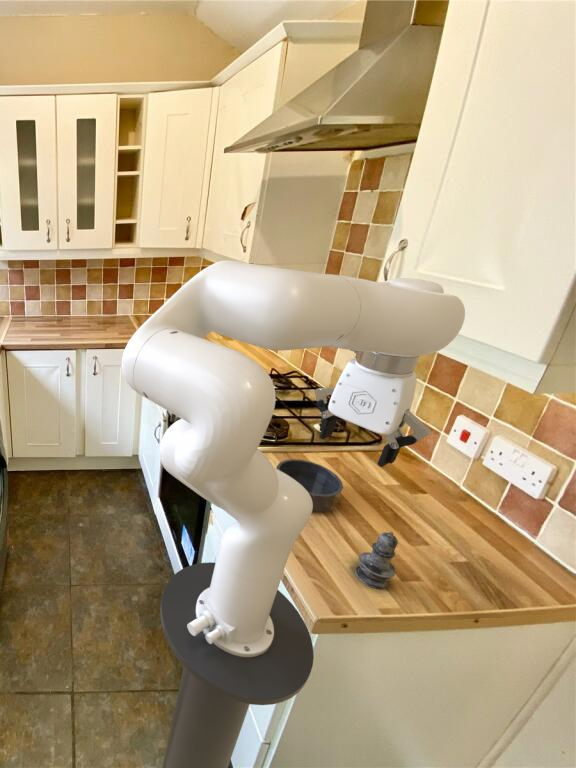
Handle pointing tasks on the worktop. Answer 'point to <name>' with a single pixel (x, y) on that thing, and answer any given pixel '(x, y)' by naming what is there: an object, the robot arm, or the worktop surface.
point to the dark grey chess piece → (378, 562)
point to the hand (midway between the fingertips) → (353, 449)
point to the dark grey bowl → (315, 482)
